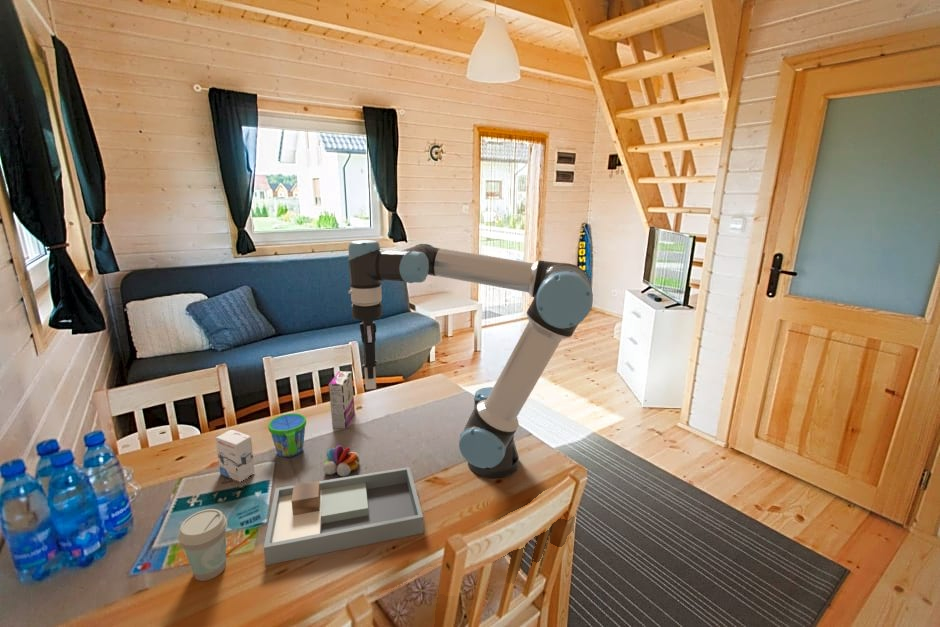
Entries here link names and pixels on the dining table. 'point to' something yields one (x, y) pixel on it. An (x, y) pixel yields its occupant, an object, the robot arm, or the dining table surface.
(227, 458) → the ink box
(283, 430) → the snack cup
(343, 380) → the candy bar box
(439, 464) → the dining table surface
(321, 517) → the box
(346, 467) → the rainbow wheeled toy
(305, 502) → the walnut block
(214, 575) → the coffee cup
